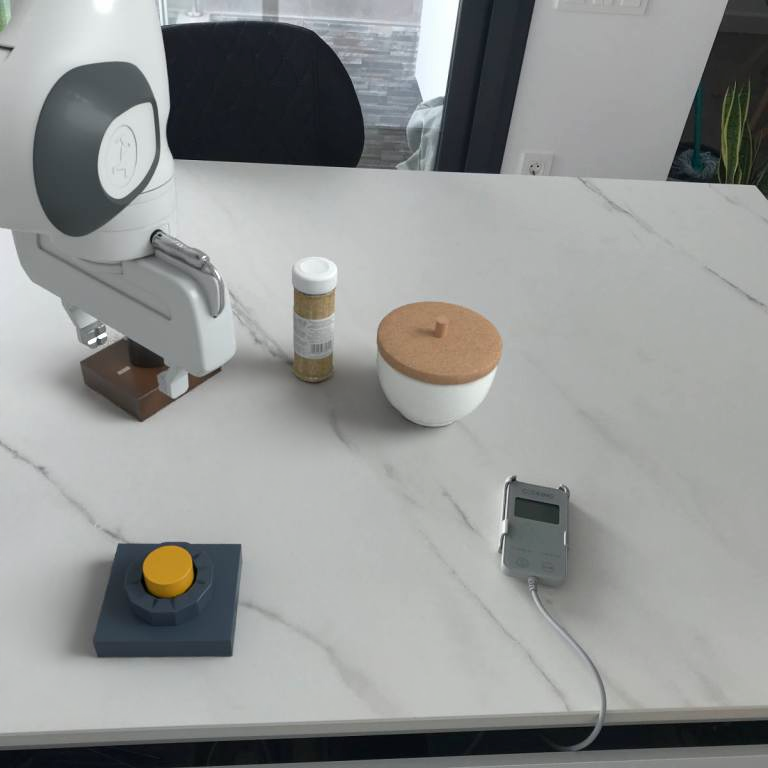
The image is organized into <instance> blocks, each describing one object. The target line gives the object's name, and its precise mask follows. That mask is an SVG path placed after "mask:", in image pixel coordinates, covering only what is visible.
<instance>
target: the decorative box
mask: <svg viewBox="0 0 768 768" xmlns="http://www.w3.org/2000/svg"><path fill="white" fill-rule="evenodd" d="M376 346H377V347H376V367H377V368H376V371H377V375H378V380H379V384H380V387H381V389H382V392H383V394H384V396H385V397H386V398H387V400H388V402H389V403H390V404H391V406H393V407H394V408H395V409H396V410H397V411H398V412H399V413H400V414H401V415H402V416H403V417H404V418H405V419H406V420H409V421H410V422H412V423H414V424H415V425H419V426H424V427H431V428H439V427H445V426H449V425H451V424H453V423H455V422H456V421H458V420H461V419H463V418H465V417H467V416H468V415H470V414H471V413H473V412H474V411H475V410H476V409H478V407H479V406H480V405H481V403H482V402H483V401H484V400H485V398H486V397H487V395H488V393H489V392H490V390H491V387H492V385H493V382H494V379H495V377H496V374H497V369H498V366H499V363H500V360H501V358H502V353H503V339H502V336H501V334H500V332H499V331H498V329H497V328H496V327H495V325H494V324H493V323H492V322H491V321H490V320H489V319H487V318H486V317H485V316H483V315H481V313H479V312H477V311H474V310H472V309H470V308H467V307H465V306H462V305H459V304H455V303H450V302H445V301H418V302H411V303H408V304H404V305H402V306H399V307H397V308H395V309H392V310H391V311H390V312H388V313H387V314H386V315H385V316H384V317H383V318H382V319H381V321H380V322H379V323H378V327H377V330H376Z"/></svg>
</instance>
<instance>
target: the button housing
mask: <svg viewBox="0 0 768 768" xmlns="http://www.w3.org/2000/svg"><path fill="white" fill-rule="evenodd" d="M164 546H178V547H181V548H183V549H185V550H186V551H187V552H188V553H189V554H190V556H191V559H192V565H193V572H194V578H193V582H192V584H191V586H190V587H189V588H188V589H187V590H186V591H185V592H184V593H182V594H180V595H178V596H176V597H172V598H160V597H157V596H155V595H153V594H152V593H150V592H149V590H148V589H147V587H146V583H145V578H144V573H143V564H144V561H145V559H146V558H147V556H148V555H149V554H150V553H151V552H153V551H154V550H156V549H158V548H160V547H164ZM242 567H243V549H242V543H190V542H187V541H162V542H160V543H133V542H131V543H129V542H127V543H123V542H122V543H120V542H119V543H117V546H116V550H115V553H114V557H113V561H112V565H111V569H110V573H109V577H108V581H107V584H106V589H105V592H104V596H103V599H102V604H101V608H100V611H99V615H98V619H97V623H96V627H95V631H94V634H93V639H92V644H93V647H94V650H95V654H96V657H97V658H168V657H170V658H171V657H172V658H174V657H178V658H179V657H180V658H181V657H183V658H184V657H187V658H188V657H189V658H190V657H233V654H234V647H235V646H234V645H235V644H234V643H235V635H236V626H237V616H238V615H237V614H238V607H239V597H240V587H241V579H242V578H241V577H242Z"/></svg>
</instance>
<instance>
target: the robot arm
mask: <svg viewBox="0 0 768 768" xmlns="http://www.w3.org/2000/svg"><path fill="white" fill-rule="evenodd" d="M156 2H157V1H156V0H9V9H10V18H9V21H8V22H7V24H6V26H5V27H4V28H3V29H2V31H0V229H4V230H11V236H12V239H13V244H14V247H15V251H16V254H17V258H18V261H19V264H20V266H21V268H22V270H23V271H24V273H25V274H26V276H27V277H28V278H29V280H30V281H31V282H32V283H33V284H35V285H37V286H39V287H41V288H42V289H44V290H46V291H47V292H49V293H51V294H52V295H54V296H56V297H57V298H60V301H61V305H62V307H63V309H64V311H65V312H66V314H67V315H68V317H69V319H70V321H71V322H72V324H73V325H74V327H75V331H76V336H77V340H78V343H80V344H82V345H84V346H85V347H88V348H89V349H91V350H95V349H97V348H98V346H103V345H104V344H106V342H107V341H108V335H107V328H106V327H107V326H108V327H109V328H111V329H113V330H114V331H116V332H118V333H120V334H121V335H123V336H124V337H126V336H127V337H128V338H130V339H132V340H133V341H135V342H137V343H139V344H140V345H142V346H144V347H145V348H147V349H149V350H151V351H152V352H154V353H156V354H158V355H159V356H161V357H163V358H164V363H165V365H167V366H168V367H169V366H170V368H168V370H167V371H163V372H161V373H160V374H158V375H157V379H158V383H159V386H158V388H159V390H160V391H162V392H163V393H165V394H166V395H168V396H169V397H171V398H173V399H175V398H177V397H179V396H180V395H182V394H183V393H185V392H186V391H187V389H188V386H189V385H188V373H190V374H192V375H194V376H196V377H202V376H204V375H206V374H208V373H210V372H212V371H214V370H215V369H217V368H219V367H220V366H221V367H222V366H223V365H225V364H226V363H227V362H229V361H230V360H231V359H232V358H233V357H234V356H235V354H236V353H237V335H236V326H235V319H234V312H233V311H234V310H233V307H232V301H231V296H230V292H229V288H228V285H227V283H226V280H225V278H224V276H223V274H221V273H220V271H219V270H218V268H216V267H215V266H214V265H213V264H212V263H211V260H210V256H209V255H208V254H206V253H205V252H204V251H202V250H200V249H198V248H196V247H191V246H189V245H187V244H185V243H184V242H182V241H181V240H180V239H179V238H177V237H178V235H179V232H180V224H179V222H180V221H179V211H178V210H179V209H178V195H177V193H178V192H177V180H176V179H177V178H176V169H175V168H176V167H175V166H176V165H175V161H174V157H173V154H172V152H171V149H170V147H169V143H168V138H167V125H168V119H169V115H170V111H171V110H170V109H171V100H170V99H171V98H170V86H169V85H170V84H169V75H168V68H167V67H168V66H167V58H166V51H165V44H164V43H165V42H164V39H163V37H164V36H163V32H162V26H161V20H160V16H159V15H160V14H159V11H158V7H157V3H156Z"/></svg>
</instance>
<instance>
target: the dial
mask: <svg viewBox="0 0 768 768" xmlns="http://www.w3.org/2000/svg"><path fill="white" fill-rule="evenodd" d="M125 337H126V341H127V347H128V353H129V358H130V360H131V361H132V363H134V364H135V365H137V366H140V367H157V366H160V365H163V364H165V363H164V358H163V357H161V356H159V355H158V354H156V353H154V352H152V351H151V350H149V349H147V348H145V347H144V346H142V345H140V344H139V343H137V342H135V341H133V340H132V339H130V338H128V337H127V336H125Z"/></svg>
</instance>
